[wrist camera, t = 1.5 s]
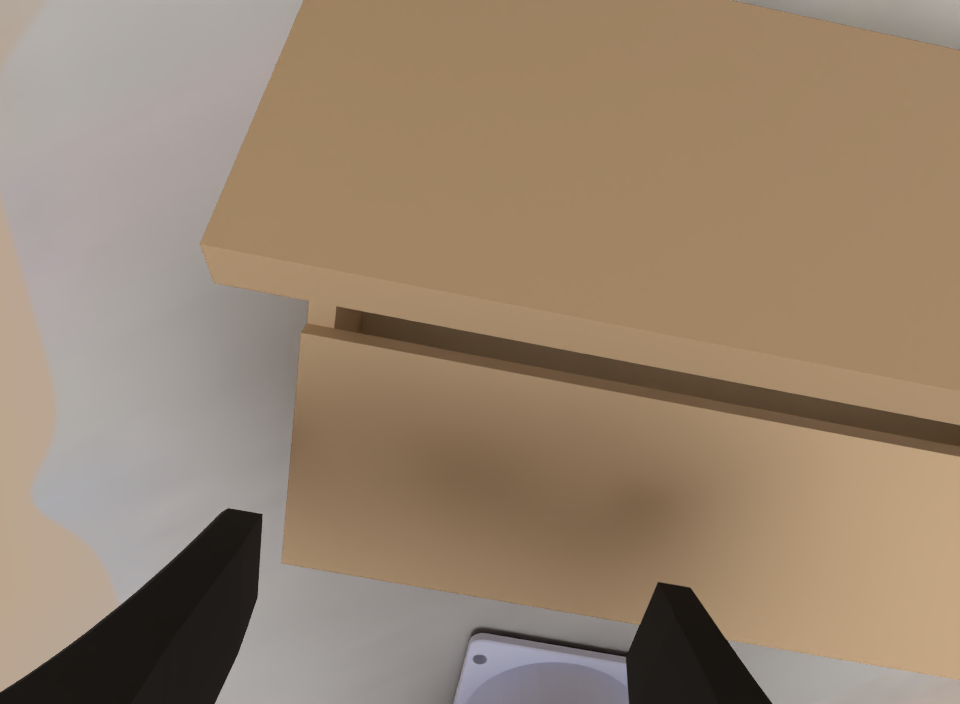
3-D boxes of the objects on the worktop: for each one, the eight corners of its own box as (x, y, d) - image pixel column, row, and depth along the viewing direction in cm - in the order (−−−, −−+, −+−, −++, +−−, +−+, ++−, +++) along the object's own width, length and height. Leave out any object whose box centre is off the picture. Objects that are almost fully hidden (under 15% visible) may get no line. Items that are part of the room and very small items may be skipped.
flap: (1636, 554, 10) (1735, 541, 9) (214, 283, 9) (199, 244, 8) (1392, 188, 13) (1450, 157, 12) (342, -39, 12) (339, -86, 11)
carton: (913, 548, 24) (1020, 690, 19) (331, 443, 23) (281, 563, 18) (1170, 129, 18) (1430, 175, 13) (386, -40, 17) (334, -63, 12)
